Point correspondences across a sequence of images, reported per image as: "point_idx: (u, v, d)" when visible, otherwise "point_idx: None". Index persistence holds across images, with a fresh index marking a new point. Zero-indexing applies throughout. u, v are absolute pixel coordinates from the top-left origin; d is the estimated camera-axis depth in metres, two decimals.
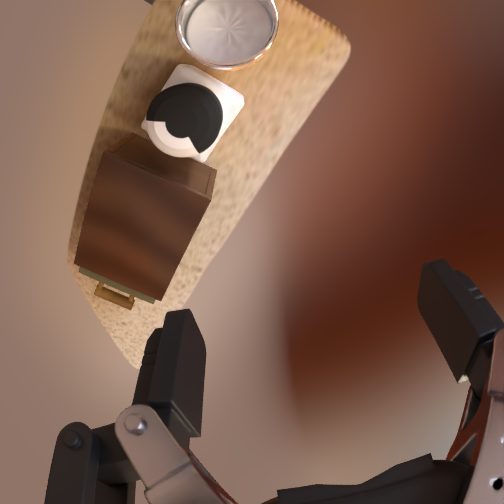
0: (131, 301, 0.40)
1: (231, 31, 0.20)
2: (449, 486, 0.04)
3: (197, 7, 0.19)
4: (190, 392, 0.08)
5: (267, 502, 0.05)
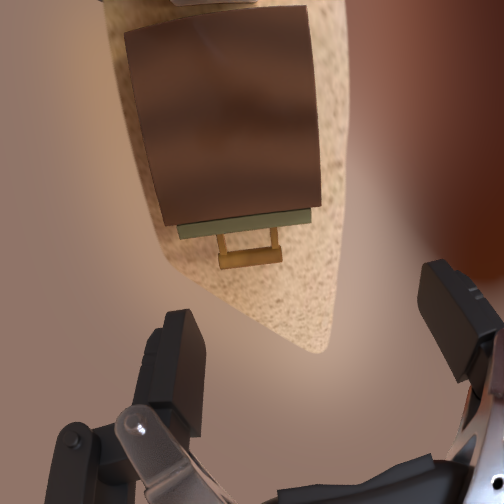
0: (277, 247, 0.28)
1: None
2: (449, 486, 0.04)
3: None
4: (190, 392, 0.08)
5: (267, 502, 0.05)
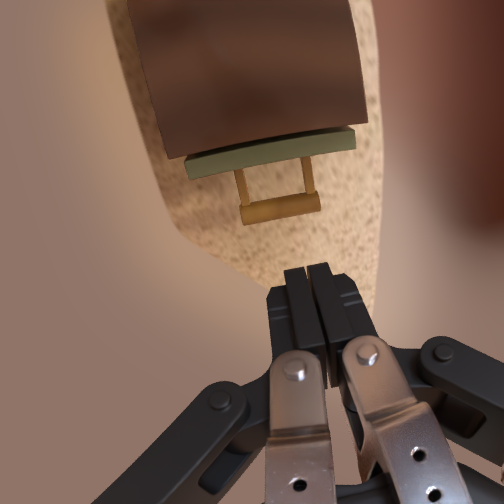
0: (312, 192, 0.22)
1: None
2: None
3: None
4: None
5: None
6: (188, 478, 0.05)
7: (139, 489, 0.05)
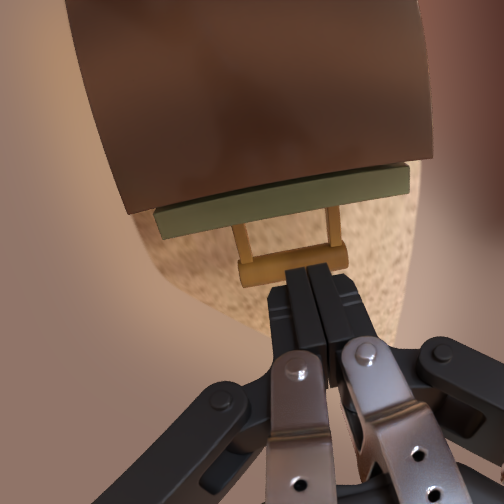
0: (338, 244, 0.16)
1: None
2: None
3: None
4: None
5: None
6: (189, 478, 0.05)
7: (140, 489, 0.05)
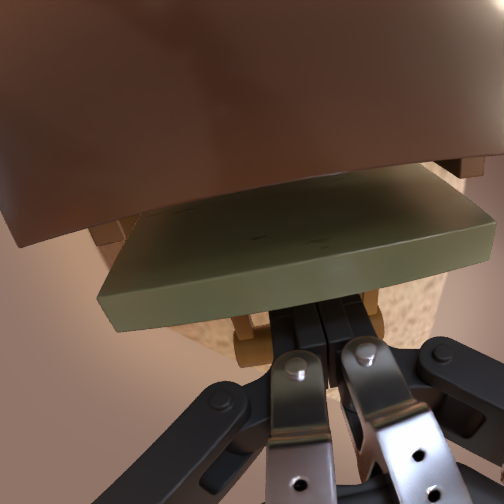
0: (373, 313, 0.11)
1: None
2: None
3: None
4: None
5: None
6: (189, 478, 0.05)
7: (140, 489, 0.05)
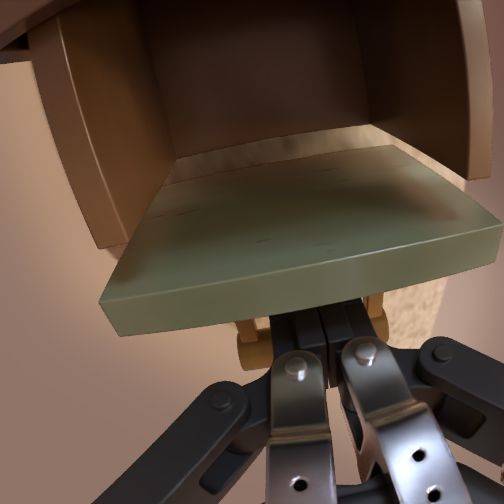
0: (378, 315, 0.11)
1: None
2: None
3: None
4: None
5: None
6: (189, 478, 0.05)
7: (140, 489, 0.05)
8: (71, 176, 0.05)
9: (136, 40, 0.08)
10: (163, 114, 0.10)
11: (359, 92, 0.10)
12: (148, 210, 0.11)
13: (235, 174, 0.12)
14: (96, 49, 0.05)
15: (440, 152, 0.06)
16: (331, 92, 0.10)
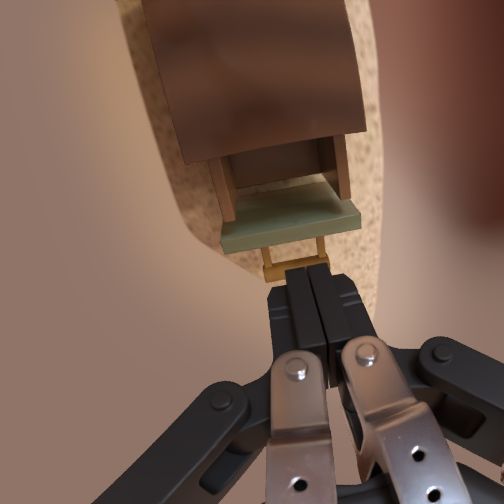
0: (324, 256, 0.26)
1: None
2: None
3: None
4: None
5: None
6: (189, 478, 0.05)
7: (140, 489, 0.05)
8: (219, 200, 0.21)
9: None
10: (232, 170, 0.26)
11: (315, 159, 0.26)
12: None
13: (261, 195, 0.28)
14: (222, 157, 0.21)
15: (335, 190, 0.22)
16: (303, 160, 0.26)
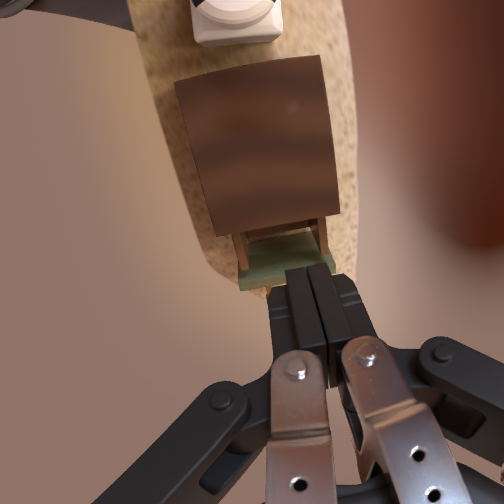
0: None
1: None
2: None
3: None
4: None
5: None
6: (189, 478, 0.05)
7: (140, 489, 0.05)
8: (238, 256, 0.31)
9: None
10: None
11: None
12: None
13: (265, 242, 0.38)
14: None
15: (318, 247, 0.32)
16: None
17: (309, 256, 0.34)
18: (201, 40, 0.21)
